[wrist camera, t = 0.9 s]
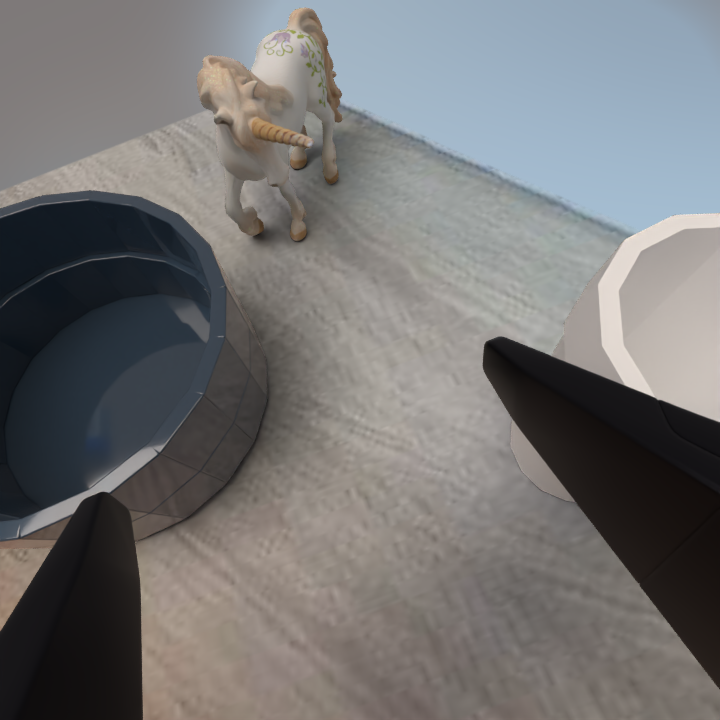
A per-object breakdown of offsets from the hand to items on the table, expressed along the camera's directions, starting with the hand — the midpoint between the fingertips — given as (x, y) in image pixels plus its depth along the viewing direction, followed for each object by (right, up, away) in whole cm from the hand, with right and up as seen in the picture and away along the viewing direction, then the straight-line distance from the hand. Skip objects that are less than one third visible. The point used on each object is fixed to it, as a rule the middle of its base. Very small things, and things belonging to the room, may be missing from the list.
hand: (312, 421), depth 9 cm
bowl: (-13, -1, +16) cm, 20 cm away
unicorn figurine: (-1, +12, +22) cm, 25 cm away
